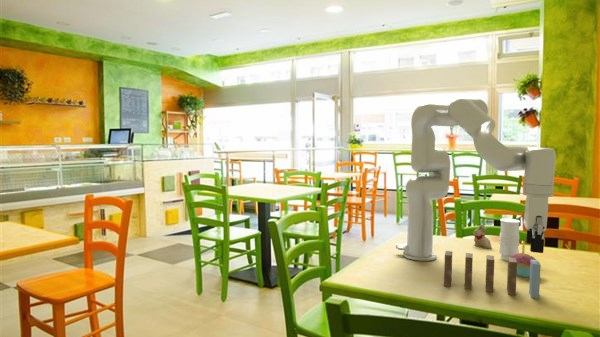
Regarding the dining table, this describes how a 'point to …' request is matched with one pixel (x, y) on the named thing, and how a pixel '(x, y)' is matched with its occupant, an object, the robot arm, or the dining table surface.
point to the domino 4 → (511, 276)
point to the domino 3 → (489, 273)
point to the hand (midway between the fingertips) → (534, 247)
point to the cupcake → (523, 262)
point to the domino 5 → (534, 279)
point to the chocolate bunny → (481, 238)
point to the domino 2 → (468, 271)
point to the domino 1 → (448, 269)
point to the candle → (509, 238)
